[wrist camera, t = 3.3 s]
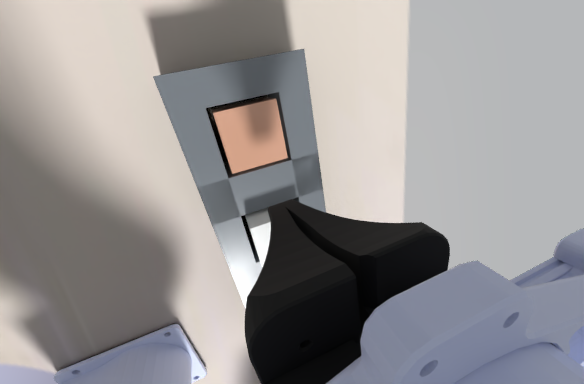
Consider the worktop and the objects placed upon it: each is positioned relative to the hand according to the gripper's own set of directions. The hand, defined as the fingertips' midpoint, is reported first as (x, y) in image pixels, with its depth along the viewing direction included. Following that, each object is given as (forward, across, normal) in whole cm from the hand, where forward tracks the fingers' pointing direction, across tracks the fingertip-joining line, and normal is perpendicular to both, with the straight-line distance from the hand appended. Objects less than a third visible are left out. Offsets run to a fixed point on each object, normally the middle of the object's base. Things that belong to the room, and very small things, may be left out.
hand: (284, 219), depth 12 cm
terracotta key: (+7, 0, -3) cm, 8 cm away
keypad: (+7, 0, +4) cm, 8 cm away
